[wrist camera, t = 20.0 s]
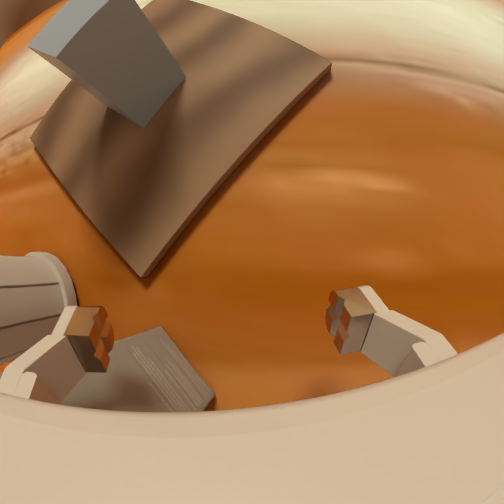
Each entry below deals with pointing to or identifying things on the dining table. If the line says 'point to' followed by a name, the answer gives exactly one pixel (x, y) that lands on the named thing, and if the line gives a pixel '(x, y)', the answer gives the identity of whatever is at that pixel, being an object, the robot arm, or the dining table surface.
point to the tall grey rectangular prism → (111, 55)
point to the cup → (31, 300)
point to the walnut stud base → (176, 128)
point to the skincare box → (143, 379)
